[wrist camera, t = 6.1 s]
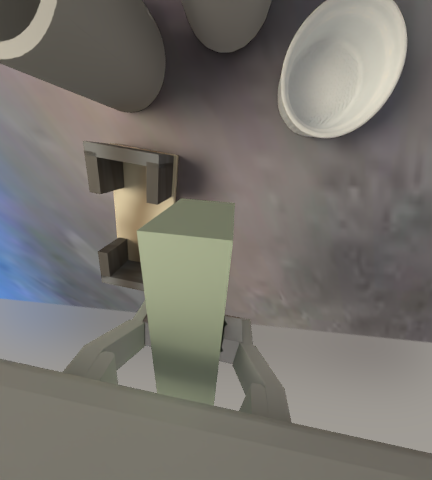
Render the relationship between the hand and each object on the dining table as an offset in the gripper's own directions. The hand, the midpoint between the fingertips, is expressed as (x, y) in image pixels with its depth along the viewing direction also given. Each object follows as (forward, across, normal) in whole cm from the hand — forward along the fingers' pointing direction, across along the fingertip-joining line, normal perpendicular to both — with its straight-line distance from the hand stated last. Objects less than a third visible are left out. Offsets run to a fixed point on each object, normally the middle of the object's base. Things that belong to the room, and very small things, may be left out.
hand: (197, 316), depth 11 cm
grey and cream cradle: (+15, +10, 0) cm, 19 cm away
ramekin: (+16, -7, -16) cm, 23 cm away
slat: (+2, 0, 0) cm, 2 cm away
